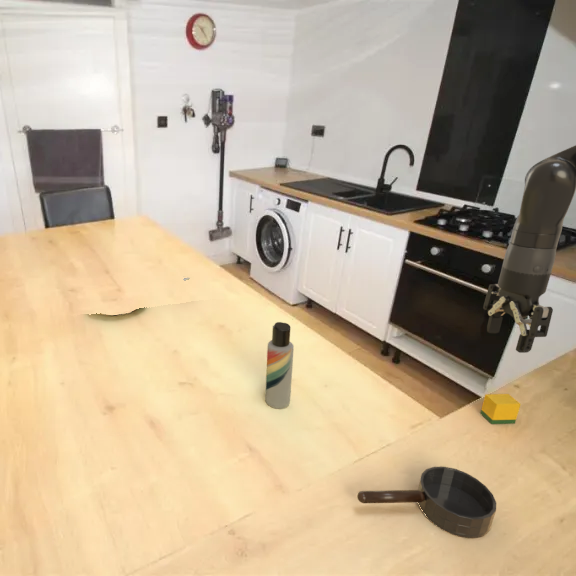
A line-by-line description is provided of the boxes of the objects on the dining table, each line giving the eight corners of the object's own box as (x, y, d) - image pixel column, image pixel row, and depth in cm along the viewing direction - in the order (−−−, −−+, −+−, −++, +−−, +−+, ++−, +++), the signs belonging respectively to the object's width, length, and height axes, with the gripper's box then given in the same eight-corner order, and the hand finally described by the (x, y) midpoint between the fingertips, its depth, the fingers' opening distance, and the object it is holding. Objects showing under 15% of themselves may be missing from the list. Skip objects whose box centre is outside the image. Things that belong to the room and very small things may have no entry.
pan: (464, 483, 72) (468, 465, 71) (506, 537, 63) (512, 518, 61) (405, 484, 72) (408, 467, 71) (438, 538, 63) (443, 519, 61)
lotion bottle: (274, 391, 100) (278, 317, 93) (294, 401, 96) (300, 324, 89) (260, 402, 96) (263, 325, 89) (280, 412, 92) (285, 332, 85)
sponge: (502, 412, 90) (508, 393, 88) (515, 423, 87) (521, 403, 85) (480, 413, 90) (485, 394, 88) (491, 424, 87) (496, 404, 85)
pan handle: (420, 495, 68) (422, 487, 67) (426, 504, 66) (428, 496, 65) (354, 496, 68) (356, 488, 67) (359, 506, 66) (360, 497, 65)
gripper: (578, 278, 72) (553, 358, 78) (518, 256, 86) (500, 326, 91) (535, 279, 72) (513, 359, 78) (482, 257, 86) (466, 327, 91)
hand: (506, 341), depth 85 cm, fingers open, 8 cm apart
